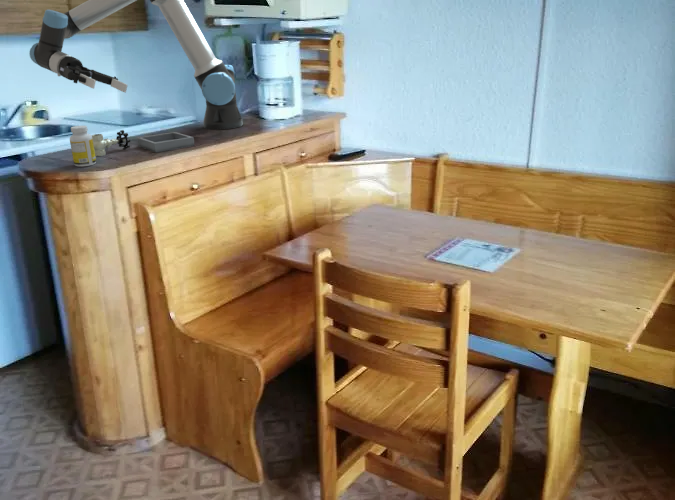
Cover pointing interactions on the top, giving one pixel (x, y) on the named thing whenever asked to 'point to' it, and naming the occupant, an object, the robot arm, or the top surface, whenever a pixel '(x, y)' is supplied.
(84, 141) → the pill bottle
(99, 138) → the valve
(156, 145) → the parts tray
